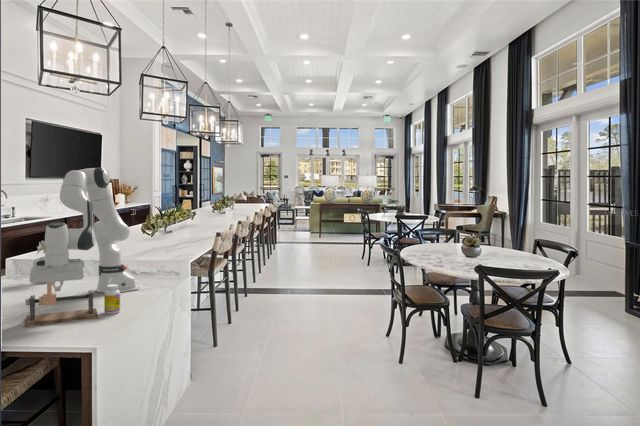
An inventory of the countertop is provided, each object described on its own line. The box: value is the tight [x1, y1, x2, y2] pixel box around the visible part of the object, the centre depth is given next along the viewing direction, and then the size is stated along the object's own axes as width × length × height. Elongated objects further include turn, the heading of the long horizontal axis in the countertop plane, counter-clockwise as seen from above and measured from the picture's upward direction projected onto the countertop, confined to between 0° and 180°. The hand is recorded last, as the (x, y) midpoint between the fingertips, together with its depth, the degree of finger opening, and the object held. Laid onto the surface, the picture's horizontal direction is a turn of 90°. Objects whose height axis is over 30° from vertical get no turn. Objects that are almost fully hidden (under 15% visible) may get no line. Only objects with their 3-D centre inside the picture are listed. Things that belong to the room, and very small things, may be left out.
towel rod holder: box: [24, 289, 99, 327], centre depth 188 cm, size 27×11×11 cm, turn 121°
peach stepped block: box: [41, 282, 57, 306], centre depth 185 cm, size 5×4×9 cm
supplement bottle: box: [103, 284, 121, 315], centre depth 199 cm, size 7×7×13 cm
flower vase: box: [36, 240, 52, 284], centre depth 253 cm, size 13×18×25 cm
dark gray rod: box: [25, 294, 89, 307], centre depth 187 cm, size 24×4×4 cm, turn 121°
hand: (57, 291), depth 186 cm, fingers closed
